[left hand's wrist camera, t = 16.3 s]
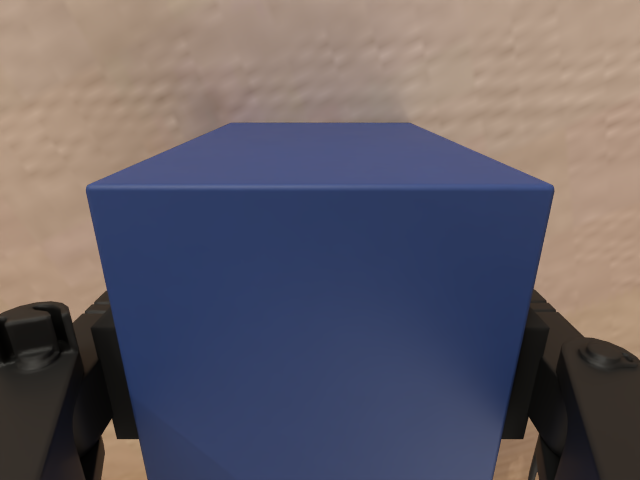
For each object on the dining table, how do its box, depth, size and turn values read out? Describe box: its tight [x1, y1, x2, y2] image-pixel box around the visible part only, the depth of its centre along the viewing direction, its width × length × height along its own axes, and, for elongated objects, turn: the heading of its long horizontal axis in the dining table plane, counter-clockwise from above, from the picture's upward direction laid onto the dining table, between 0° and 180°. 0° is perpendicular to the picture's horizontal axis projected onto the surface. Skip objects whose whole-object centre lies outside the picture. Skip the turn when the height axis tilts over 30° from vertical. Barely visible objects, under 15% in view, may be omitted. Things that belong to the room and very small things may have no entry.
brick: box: [86, 123, 554, 480], centre depth 12 cm, size 7×8×10 cm
